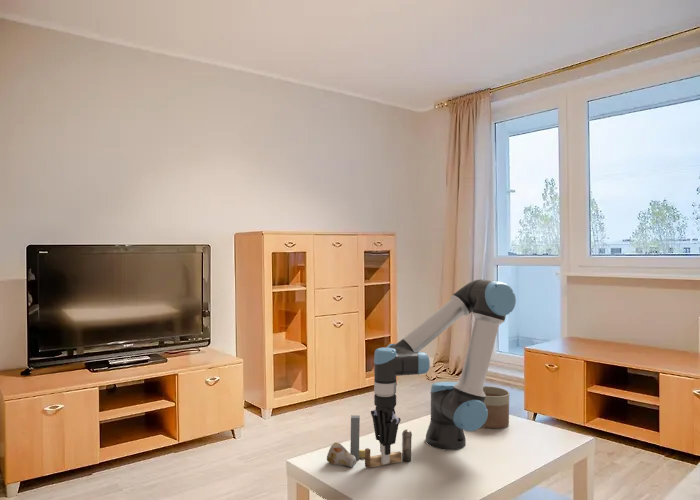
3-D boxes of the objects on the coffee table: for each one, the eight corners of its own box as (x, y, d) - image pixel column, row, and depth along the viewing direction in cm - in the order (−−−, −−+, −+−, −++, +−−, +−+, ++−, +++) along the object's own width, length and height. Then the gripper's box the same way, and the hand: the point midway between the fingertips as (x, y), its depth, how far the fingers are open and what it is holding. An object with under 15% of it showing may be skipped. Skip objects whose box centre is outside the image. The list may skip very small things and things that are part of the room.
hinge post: (411, 458, 184) (411, 428, 184) (411, 462, 180) (412, 431, 180) (401, 458, 184) (401, 428, 184) (402, 462, 181) (402, 431, 180)
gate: (399, 459, 182) (399, 442, 182) (401, 461, 180) (401, 444, 180) (364, 466, 176) (365, 448, 176) (366, 468, 175) (367, 450, 175)
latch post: (368, 456, 185) (368, 415, 185) (367, 461, 181) (368, 418, 181) (350, 456, 185) (351, 414, 185) (350, 460, 182) (350, 417, 182)
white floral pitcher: (353, 472, 173) (339, 446, 173) (332, 478, 178) (318, 453, 178) (363, 459, 179) (349, 434, 179) (342, 465, 184) (329, 440, 184)
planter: (502, 432, 211) (503, 398, 211) (465, 424, 220) (465, 392, 220) (513, 421, 224) (513, 389, 224) (477, 414, 233) (478, 384, 233)
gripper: (406, 396, 174) (406, 466, 174) (381, 388, 184) (381, 454, 184) (389, 399, 169) (390, 472, 169) (364, 391, 180) (364, 459, 179)
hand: (385, 462), depth 177 cm, fingers closed
